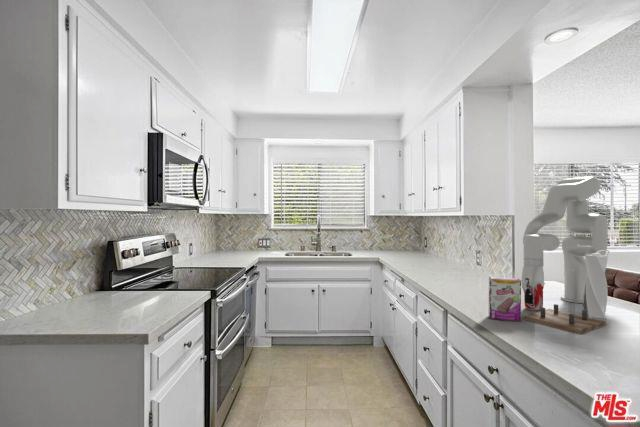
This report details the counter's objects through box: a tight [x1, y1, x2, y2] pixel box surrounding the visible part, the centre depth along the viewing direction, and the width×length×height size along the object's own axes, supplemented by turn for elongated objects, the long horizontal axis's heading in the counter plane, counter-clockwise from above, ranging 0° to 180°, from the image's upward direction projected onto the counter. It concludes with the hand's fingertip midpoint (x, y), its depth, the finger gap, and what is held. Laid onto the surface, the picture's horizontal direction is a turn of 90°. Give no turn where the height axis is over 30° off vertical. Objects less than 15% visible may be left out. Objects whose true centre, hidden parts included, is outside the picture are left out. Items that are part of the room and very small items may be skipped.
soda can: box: [523, 283, 544, 312], centre depth 152 cm, size 7×7×12 cm
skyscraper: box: [582, 249, 610, 320], centre depth 141 cm, size 8×8×28 cm
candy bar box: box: [488, 276, 522, 322], centre depth 138 cm, size 11×5×16 cm, turn 71°
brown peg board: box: [522, 303, 607, 335], centre depth 133 cm, size 20×20×5 cm
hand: (533, 302), depth 152 cm, fingers closed on soda can, 7 cm apart
